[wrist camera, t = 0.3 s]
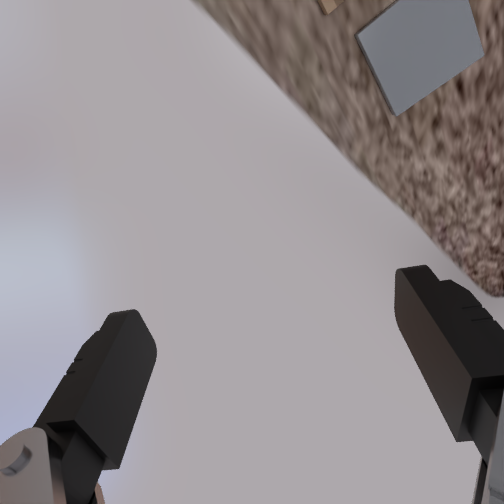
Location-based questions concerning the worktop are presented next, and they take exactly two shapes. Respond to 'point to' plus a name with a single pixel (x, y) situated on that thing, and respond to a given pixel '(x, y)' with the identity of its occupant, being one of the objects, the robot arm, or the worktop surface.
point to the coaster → (419, 47)
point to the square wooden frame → (329, 5)
